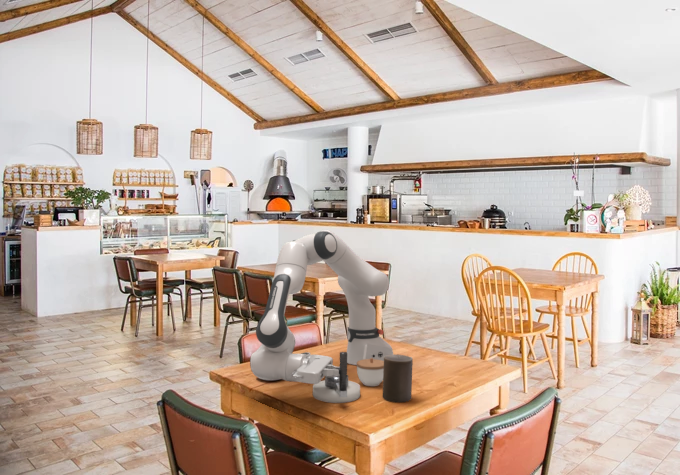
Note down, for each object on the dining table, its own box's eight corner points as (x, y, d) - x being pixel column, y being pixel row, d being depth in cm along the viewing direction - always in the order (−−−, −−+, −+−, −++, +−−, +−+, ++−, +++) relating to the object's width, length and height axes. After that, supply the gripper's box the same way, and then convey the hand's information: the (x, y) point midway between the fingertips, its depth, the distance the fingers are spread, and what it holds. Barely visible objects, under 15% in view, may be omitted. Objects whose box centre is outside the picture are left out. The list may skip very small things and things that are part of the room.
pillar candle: (391, 404, 189) (392, 358, 188) (377, 395, 198) (378, 351, 197) (417, 400, 193) (418, 356, 192) (402, 392, 202) (403, 349, 201)
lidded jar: (365, 389, 203) (366, 363, 203) (351, 381, 213) (351, 356, 212) (391, 386, 208) (392, 360, 208) (376, 378, 218) (376, 353, 217)
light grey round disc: (351, 386, 207) (351, 377, 207) (366, 400, 192) (366, 391, 192) (307, 389, 202) (307, 380, 202) (320, 404, 187) (320, 394, 187)
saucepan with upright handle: (323, 381, 200) (323, 341, 199) (345, 380, 202) (346, 341, 201) (331, 397, 183) (331, 354, 183) (355, 396, 185) (356, 353, 184)
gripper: (288, 366, 178) (332, 370, 175) (307, 350, 198) (346, 354, 195) (288, 386, 178) (332, 390, 175) (306, 369, 198) (346, 372, 195)
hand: (340, 371), depth 185 cm, fingers closed, pressing on saucepan with upright handle
